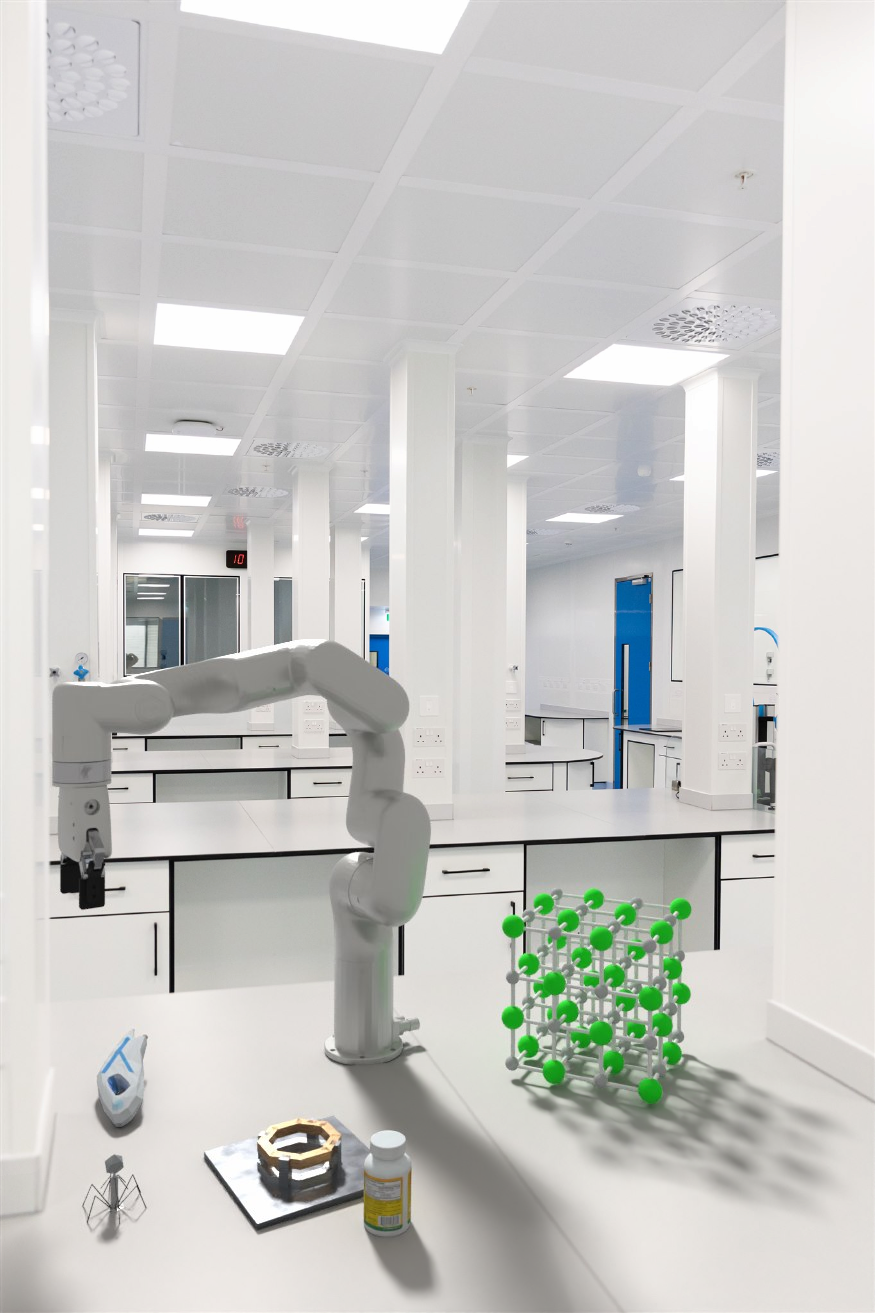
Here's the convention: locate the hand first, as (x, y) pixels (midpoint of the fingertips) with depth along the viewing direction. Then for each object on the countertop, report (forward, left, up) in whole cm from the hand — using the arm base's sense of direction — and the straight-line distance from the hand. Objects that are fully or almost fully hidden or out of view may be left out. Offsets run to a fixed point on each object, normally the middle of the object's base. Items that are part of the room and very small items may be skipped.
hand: (82, 899), depth 132 cm
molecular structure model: (-73, +21, -30) cm, 82 cm away
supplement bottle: (-24, +42, -30) cm, 57 cm away
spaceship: (-11, -1, -27) cm, 29 cm away
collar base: (-20, +27, -30) cm, 45 cm away
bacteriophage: (+1, +24, -31) cm, 39 cm away
